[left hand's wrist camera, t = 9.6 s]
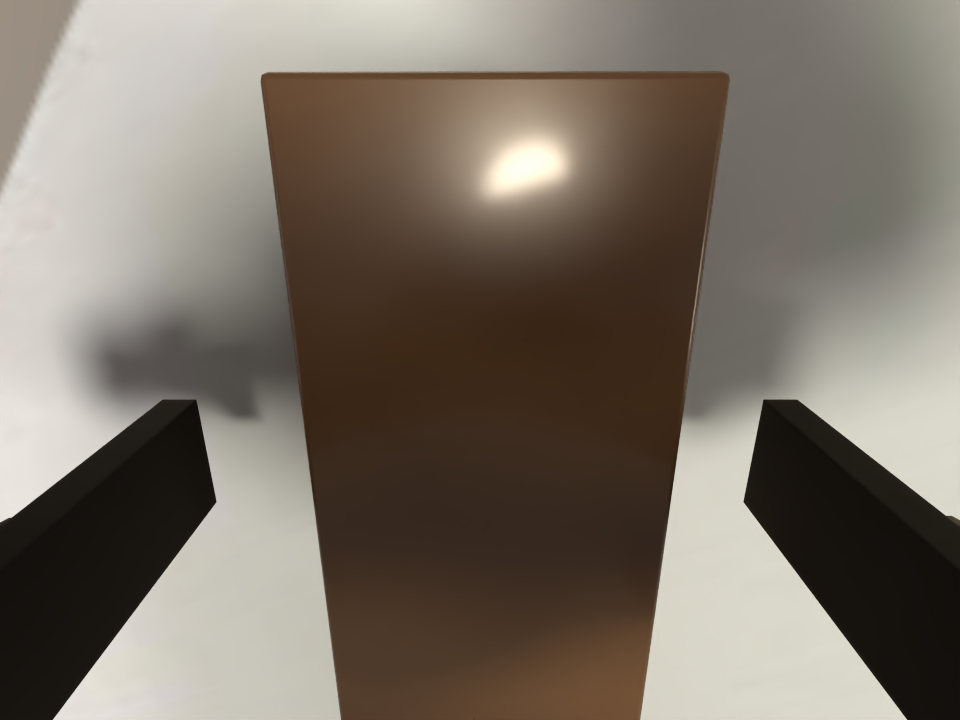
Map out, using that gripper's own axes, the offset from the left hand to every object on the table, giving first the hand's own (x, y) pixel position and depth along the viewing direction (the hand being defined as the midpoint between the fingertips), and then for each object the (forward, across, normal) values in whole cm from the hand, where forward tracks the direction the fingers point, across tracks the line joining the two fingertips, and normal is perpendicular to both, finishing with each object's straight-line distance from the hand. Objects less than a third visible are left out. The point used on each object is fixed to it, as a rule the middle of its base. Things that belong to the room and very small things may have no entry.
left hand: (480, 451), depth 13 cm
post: (+4, 0, -33) cm, 33 cm away
